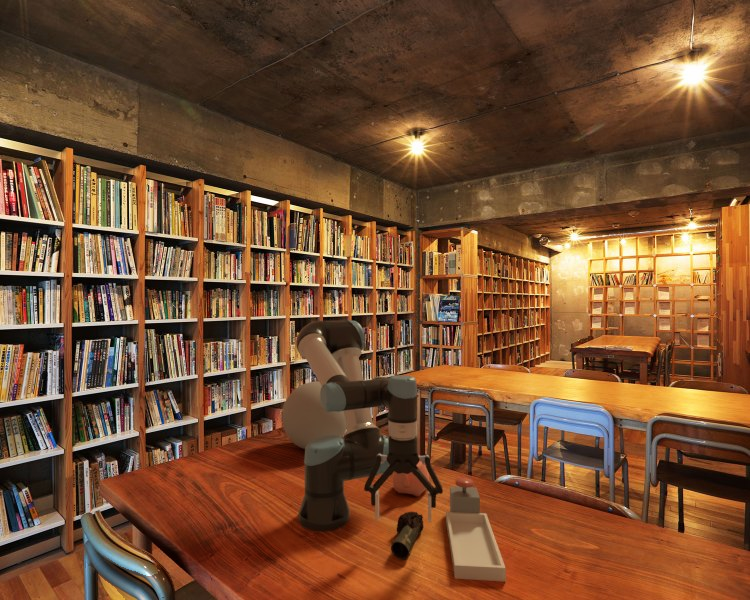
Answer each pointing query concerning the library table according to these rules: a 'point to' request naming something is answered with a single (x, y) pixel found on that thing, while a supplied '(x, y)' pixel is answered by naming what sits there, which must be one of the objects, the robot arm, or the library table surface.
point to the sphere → (310, 416)
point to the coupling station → (472, 536)
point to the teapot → (410, 481)
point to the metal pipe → (406, 534)
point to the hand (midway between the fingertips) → (403, 518)
